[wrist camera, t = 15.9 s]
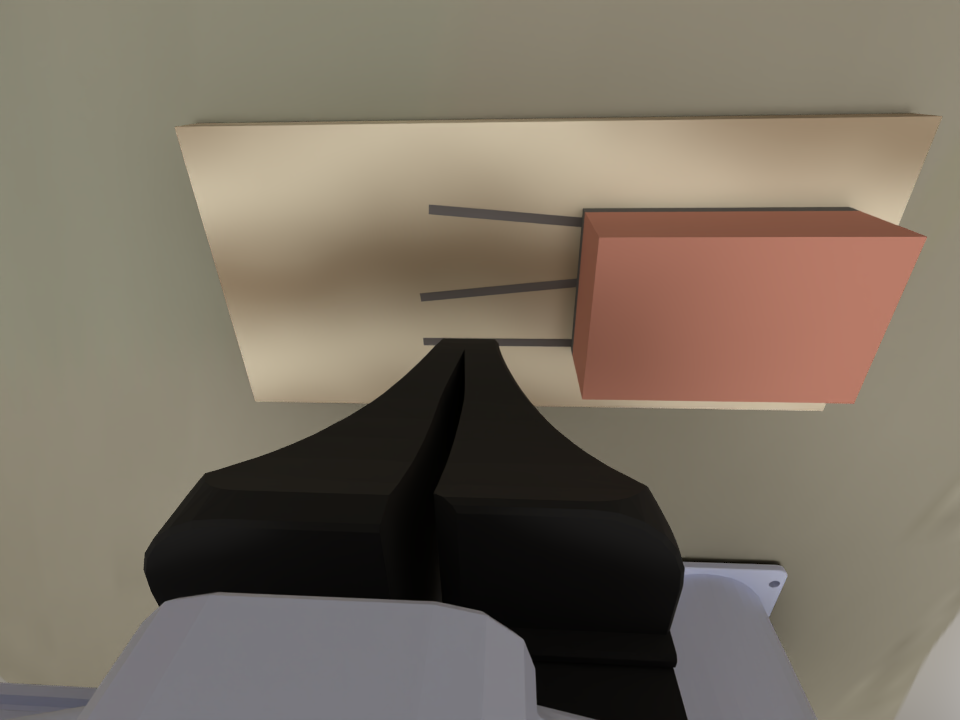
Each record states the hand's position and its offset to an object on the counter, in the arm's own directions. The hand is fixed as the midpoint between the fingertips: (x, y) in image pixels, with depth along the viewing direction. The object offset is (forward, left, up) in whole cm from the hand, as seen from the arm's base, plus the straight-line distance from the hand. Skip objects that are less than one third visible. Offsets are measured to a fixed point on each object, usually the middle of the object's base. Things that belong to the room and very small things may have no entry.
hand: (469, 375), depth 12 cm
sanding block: (0, -7, -6) cm, 9 cm away
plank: (0, -2, -7) cm, 7 cm away
